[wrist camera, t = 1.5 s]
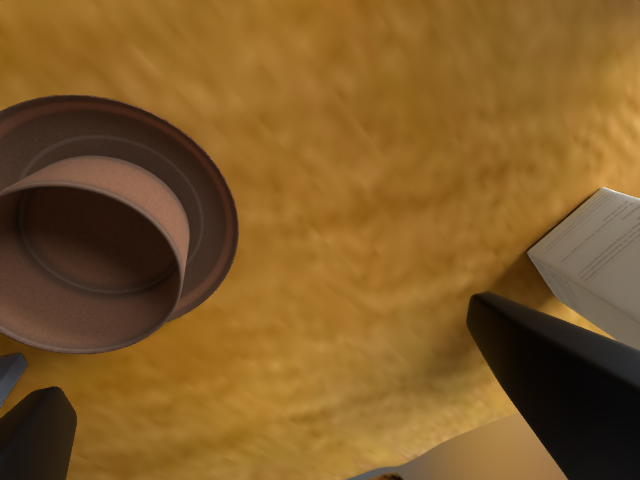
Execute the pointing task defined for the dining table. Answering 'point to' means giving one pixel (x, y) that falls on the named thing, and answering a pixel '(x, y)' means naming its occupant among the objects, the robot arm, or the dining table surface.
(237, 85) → the dining table surface
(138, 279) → the cup and saucer
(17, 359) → the u-shaped bracket
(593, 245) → the white packaging box
